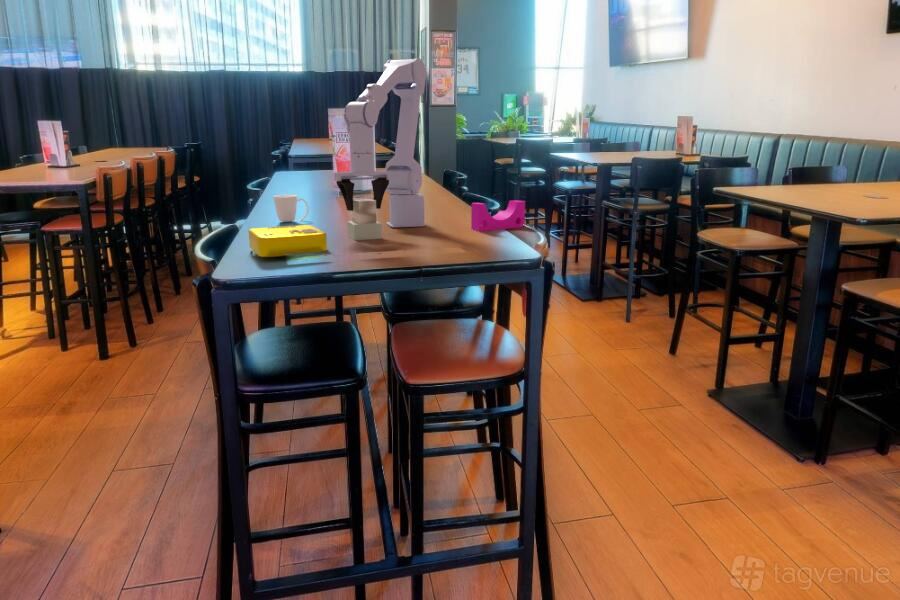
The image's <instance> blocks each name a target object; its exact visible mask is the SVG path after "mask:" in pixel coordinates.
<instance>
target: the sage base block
mask: <svg viewBox="0 0 900 600" xmlns="http://www.w3.org/2000/svg"><path fill="white" fill-rule="evenodd" d="M376 222H377V223H367V224H358V223H355V222H352V220H348V221H347V223H346V224H347V236H348V237H349V238H350V239H352V240H354V241H361V240H362V241H363V240H377V239H378V240H379V239H383V227H382V224H383V223H381V222H379V221H377V220H376Z"/></svg>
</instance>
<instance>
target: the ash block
mask: <svg viewBox="0 0 900 600" xmlns="http://www.w3.org/2000/svg"><path fill="white" fill-rule="evenodd" d="M351 217H352V220H351V221H352V222H355V223H358V224H367V223H377V222H376V221H377V209H376V200H374V199H370V198H362V199H353V211H351Z"/></svg>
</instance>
